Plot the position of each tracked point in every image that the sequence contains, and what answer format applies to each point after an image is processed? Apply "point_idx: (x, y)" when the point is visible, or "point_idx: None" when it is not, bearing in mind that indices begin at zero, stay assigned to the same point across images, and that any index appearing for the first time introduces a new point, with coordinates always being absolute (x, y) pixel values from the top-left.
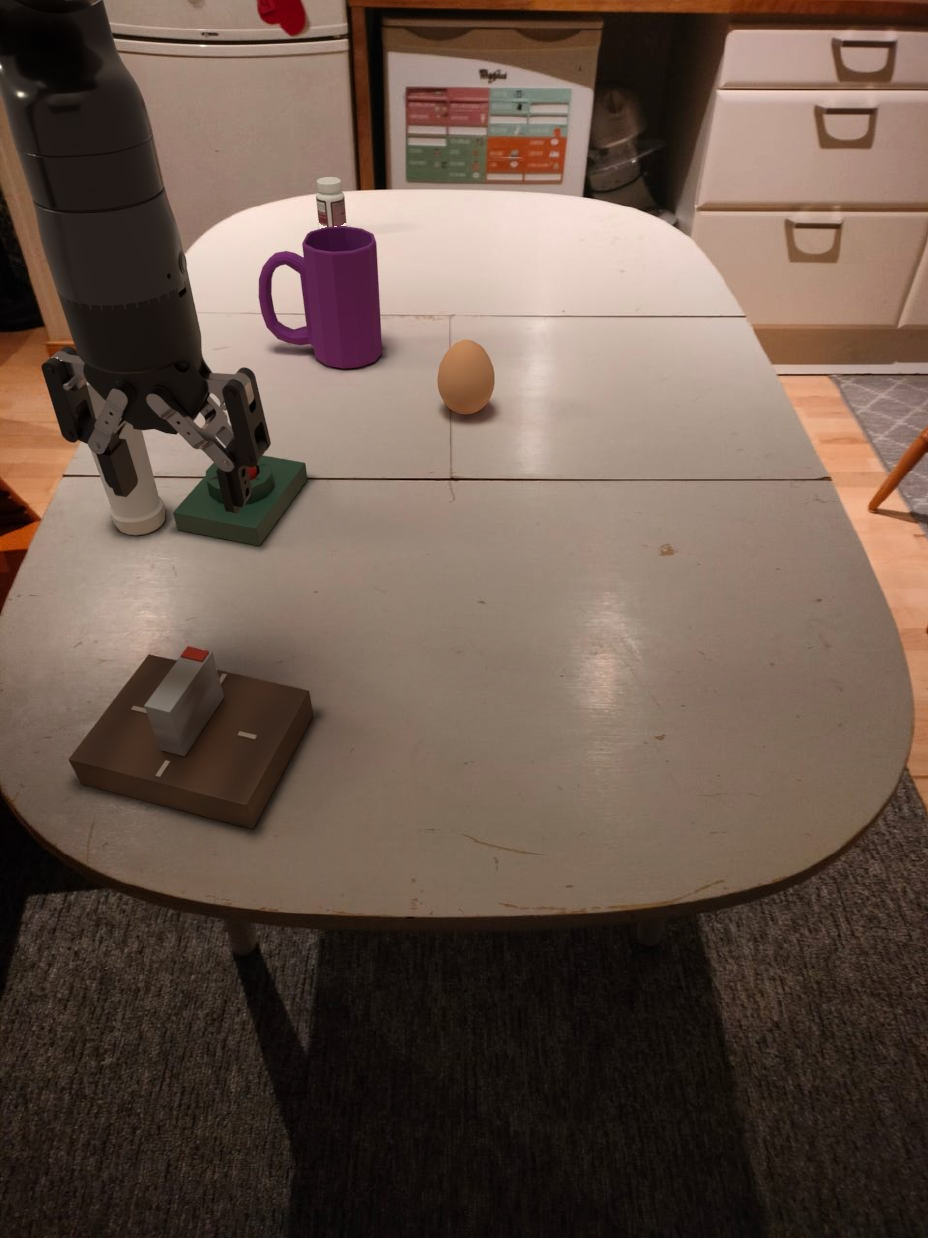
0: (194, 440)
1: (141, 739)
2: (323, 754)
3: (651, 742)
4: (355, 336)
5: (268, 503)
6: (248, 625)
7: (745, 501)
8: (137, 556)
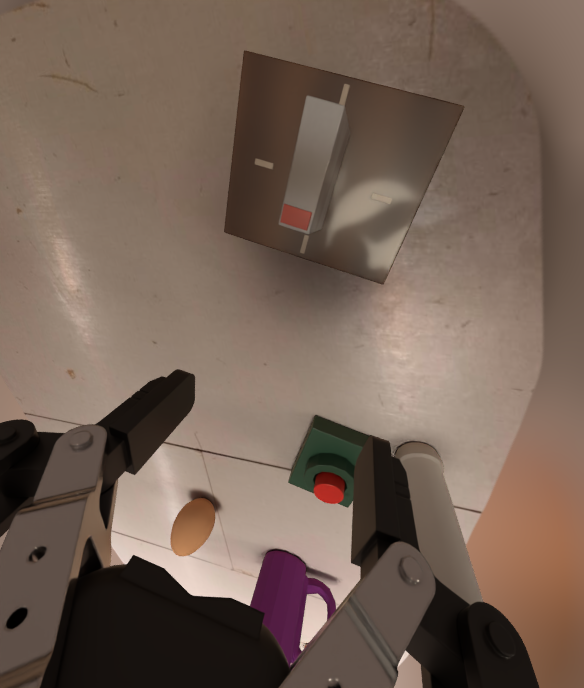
0: (52, 521)
1: (375, 150)
2: (221, 182)
3: (21, 205)
4: (270, 576)
5: (307, 450)
6: (310, 334)
7: (49, 404)
8: (416, 420)
